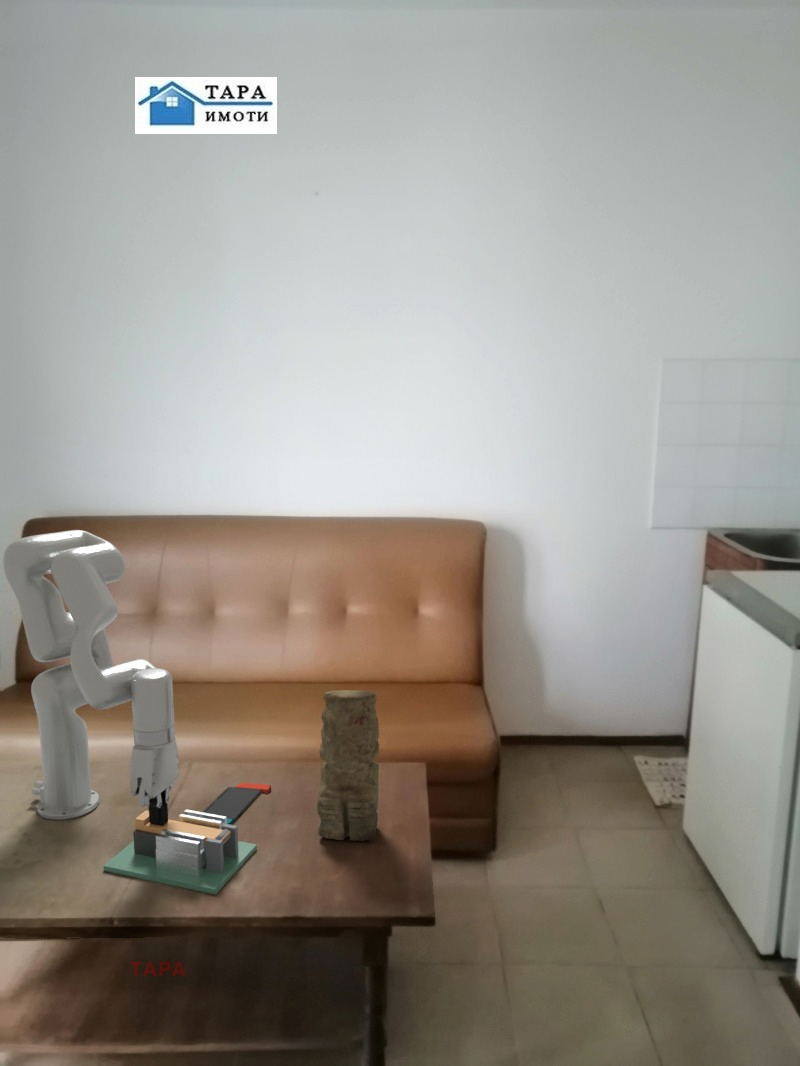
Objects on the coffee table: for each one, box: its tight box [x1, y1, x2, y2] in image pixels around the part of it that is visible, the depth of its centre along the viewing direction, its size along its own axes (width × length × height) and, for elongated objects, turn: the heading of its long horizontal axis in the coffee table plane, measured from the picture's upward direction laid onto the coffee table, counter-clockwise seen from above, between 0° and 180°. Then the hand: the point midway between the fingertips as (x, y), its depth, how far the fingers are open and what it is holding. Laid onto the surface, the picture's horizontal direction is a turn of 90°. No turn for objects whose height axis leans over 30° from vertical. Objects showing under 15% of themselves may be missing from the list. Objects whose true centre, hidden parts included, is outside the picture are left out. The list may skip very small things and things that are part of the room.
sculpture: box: [316, 689, 380, 842], centre depth 172 cm, size 12×9×30 cm
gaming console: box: [202, 782, 272, 825], centre depth 186 cm, size 19×1×10 cm
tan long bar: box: [134, 810, 231, 844], centre depth 163 cm, size 19×4×2 cm, turn 72°
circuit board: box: [103, 824, 258, 895], centre depth 164 cm, size 24×16×7 cm, turn 72°
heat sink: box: [156, 808, 227, 877], centre depth 163 cm, size 9×11×6 cm
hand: (159, 822), depth 165 cm, fingers closed
